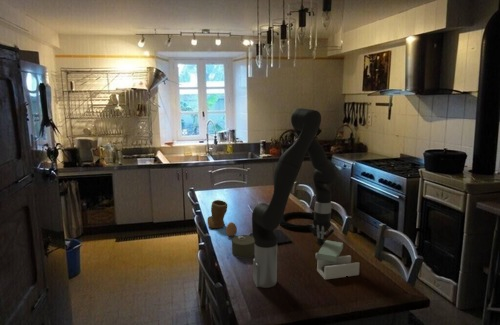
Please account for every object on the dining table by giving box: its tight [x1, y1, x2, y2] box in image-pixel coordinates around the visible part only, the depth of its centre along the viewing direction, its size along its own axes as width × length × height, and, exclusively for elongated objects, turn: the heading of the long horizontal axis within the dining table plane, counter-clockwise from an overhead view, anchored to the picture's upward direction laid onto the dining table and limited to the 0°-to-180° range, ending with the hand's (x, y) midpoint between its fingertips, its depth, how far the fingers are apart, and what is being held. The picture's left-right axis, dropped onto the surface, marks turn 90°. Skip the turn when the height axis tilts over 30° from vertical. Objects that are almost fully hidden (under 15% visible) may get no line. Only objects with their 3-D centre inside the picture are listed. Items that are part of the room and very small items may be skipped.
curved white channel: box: [316, 255, 361, 280], centre depth 154 cm, size 16×8×6 cm, turn 104°
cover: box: [314, 240, 344, 262], centre depth 160 cm, size 17×9×2 cm, turn 155°
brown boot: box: [206, 199, 228, 229], centre depth 211 cm, size 15×12×15 cm
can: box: [231, 234, 255, 259], centre depth 174 cm, size 12×12×7 cm
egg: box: [225, 221, 238, 237], centre depth 194 cm, size 6×6×8 cm
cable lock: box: [279, 211, 316, 232], centre depth 216 cm, size 28×4×30 cm
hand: (320, 245), depth 168 cm, fingers closed
